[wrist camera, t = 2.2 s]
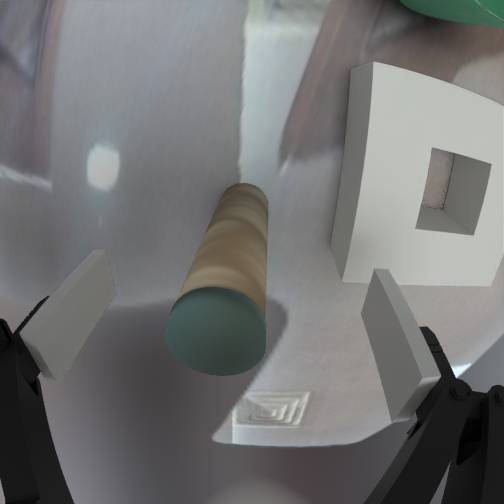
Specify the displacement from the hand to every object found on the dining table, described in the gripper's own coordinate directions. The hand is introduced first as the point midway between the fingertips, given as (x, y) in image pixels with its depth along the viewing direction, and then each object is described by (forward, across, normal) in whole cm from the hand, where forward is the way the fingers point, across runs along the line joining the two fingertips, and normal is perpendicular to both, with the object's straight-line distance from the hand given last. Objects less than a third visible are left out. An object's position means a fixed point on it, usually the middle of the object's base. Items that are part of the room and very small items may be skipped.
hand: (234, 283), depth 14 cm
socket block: (+10, +14, +4) cm, 17 cm away
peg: (+10, 0, 0) cm, 10 cm away
